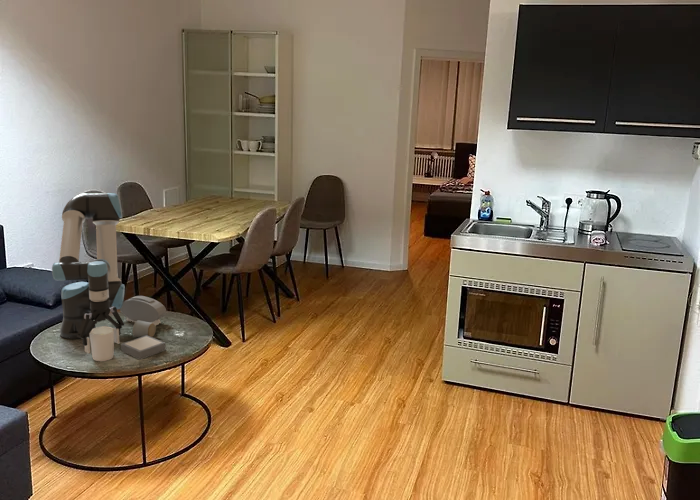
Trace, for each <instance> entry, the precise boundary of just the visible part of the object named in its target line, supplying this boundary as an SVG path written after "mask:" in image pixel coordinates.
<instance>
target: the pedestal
mask: <svg viewBox="0 0 700 500" xmlns="http://www.w3.org/2000/svg"><path fill="white" fill-rule="evenodd" d="M120 346H121V353H124V354H126V355H129V356H132V357H133V358H136V359H138V360H143V359H145V358H146V359H147V358H148V357H151V356H154V355H156V354H160V353H161V352H165V351H166V348H167V347H166V342H164V341H162V340H160V339H157V338H155V337H154V336H153V337H150V336H148V335H146V336H143V337H136V338H134V339H131V340H129V341H125V342H123V343H121V344H120Z"/></svg>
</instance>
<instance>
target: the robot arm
mask: <svg viewBox="0 0 700 500" xmlns="http://www.w3.org/2000/svg"><path fill="white" fill-rule="evenodd" d="M123 217H124V216H123V209H122V204H121V200H120V196H119V194H118V193H111V192H101V193H100V192H99V193H98V192H95V193H93V192H92V193H87V192H85V193H80V194H77V195H75V196H74V197H72V198H70V199H69V201H68V202H67V203H66V204H65V206H64V208H63V210H62V215H61V220H62V222H63V224H62V225H63V226H62V227H63V228H62V234H61V242H60V243H61V244H60V251H59V259H58V260H59V261H58V262H54V263H52V267H51V274H52V275H51V276H52V278H53V280H55V281H64V282H65V281H78V280H80V281H78V282H73V283H69V284H67V285H65V286H63V287H62V289H61V297H60V298H61V306H62V307H61V308H62V317H63V318H62V323H61V326H60V328H59V333H60V337H62V338H64V339H68V340H69V339H71V340H73V339H74V340H77V339H81V342H82V345H83V347H84V352H85V353H87V354H90V353H91V343H90V336H89V334H90V332H91V330H92V329H93V328H96V327H97V326H96V324H98V323H100V322H102V321H106V320H107V321H108V322H109V323H110V324H112V325H113V326H114V327H112V328H113V329H114V344H115V343H116V344H120V335H121V329H122V328H123V327H124V326H125V322H124V321H123V319H122V318H121V315H120V314H119V312H118V310H120V308H121V307H122V305H123V302H124V301H125V299H124V298H125V291H126V290H125V288H126V287H125V284H123V283H122V280H121V279H120V278H119V275H118V253H117V252H118V251H117V250H118V249H117V247H118V245H117V225H118V224H119V223H120V219H122V218H123ZM86 219H87V220H89V219H92V224H94V225H95V231H96V232H95V233H96V260H94V261H80V254H81V253H80V252H81V242H82V241H81V239H82V231H83V229H82V228H83V224H84V223H85V221H86ZM82 280H83V281H82ZM84 280H85V281H84ZM86 280H87V281H88V282H87V281H86ZM110 313H111V314H112V315H113V317H114V318H112V316H111V315H110ZM114 319H115V320H114Z"/></svg>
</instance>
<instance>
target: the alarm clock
mask: <svg viewBox="0 0 700 500" xmlns="http://www.w3.org/2000/svg"><path fill="white" fill-rule="evenodd" d="M119 311H120V313H121V314H122V315H124V317H126V319H125V320H126V322H131V321H132V322H131V323H135V322H136V321H137V320H140V321H145V322H150V323H153V324H154V325H155V327H156V326H158V325H159V323H160V324H161V318H163V317H165V316H166V315H167V309H166V307H165V305H163V304H162V302H160V301H158V300H156V299H154V298H152V297H148V296H144V295H136V296H133V297H130V298H128V299H126V300H123V305H122V307H121V308H120V309H119Z"/></svg>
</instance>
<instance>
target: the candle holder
mask: <svg viewBox="0 0 700 500" xmlns="http://www.w3.org/2000/svg"><path fill="white" fill-rule="evenodd" d="M113 328H114V327H111V326H96V328H93V329H92V330H91V332H90V334H89V336H88V337H89V341H90V352H91V355H92V356H91V357H92V359H93V360H94V361H96V362H105V361H109V360H112V359H113V358H114V356H115V342H114V329H113Z"/></svg>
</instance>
